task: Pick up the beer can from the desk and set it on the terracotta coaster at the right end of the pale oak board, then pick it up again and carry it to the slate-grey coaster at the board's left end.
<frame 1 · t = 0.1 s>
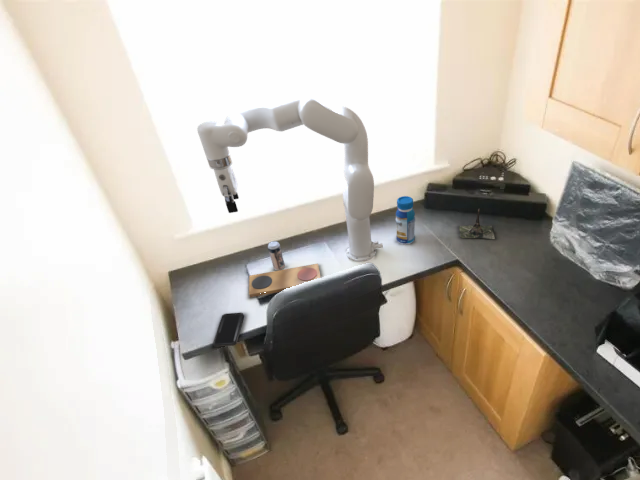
hand: (234, 205, 151), 31 cm above the worktop, tool pointing down, fingers open, 9 cm apart
beverage bottle: (405, 240, 184), on the worktop
eiffel tower figurine: (476, 233, 186), on the worktop
board: (285, 281, 166), on the worktop
phone: (229, 330, 147), on the worktop
beer can: (279, 267, 173), on the worktop
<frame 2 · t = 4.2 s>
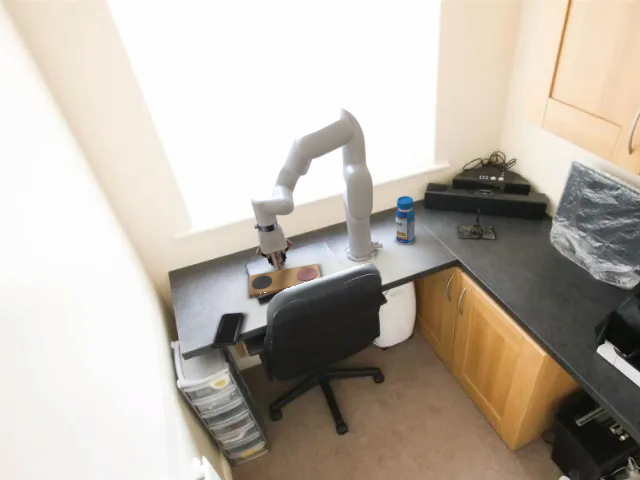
hand: (278, 262, 171), 3 cm above the worktop, tool pointing down, fingers closed on beer can, 4 cm apart
beer can: (279, 267, 173), on the worktop, touching gripper
everything else where it was.
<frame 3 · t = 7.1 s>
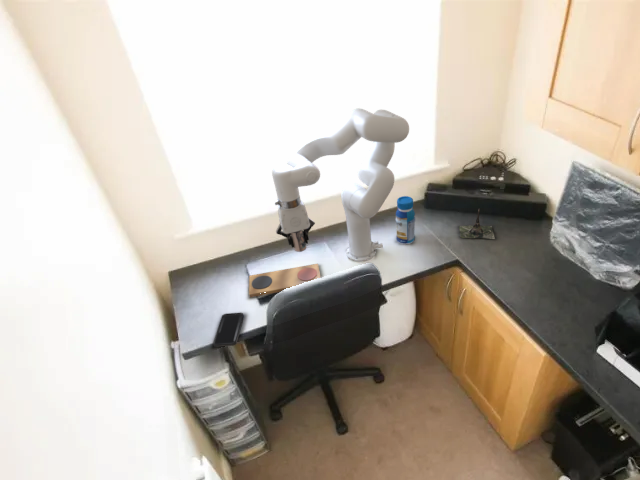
hand: (299, 243, 157), 16 cm above the worktop, tool pointing down, fingers closed on beer can, 4 cm apart
beer can: (300, 249, 159), point 13 cm above the worktop, touching gripper
everything else where it was.
when the fingers open (5 cm above the worktop, at t = 10.2 s): beer can stays where it is, resting on board.
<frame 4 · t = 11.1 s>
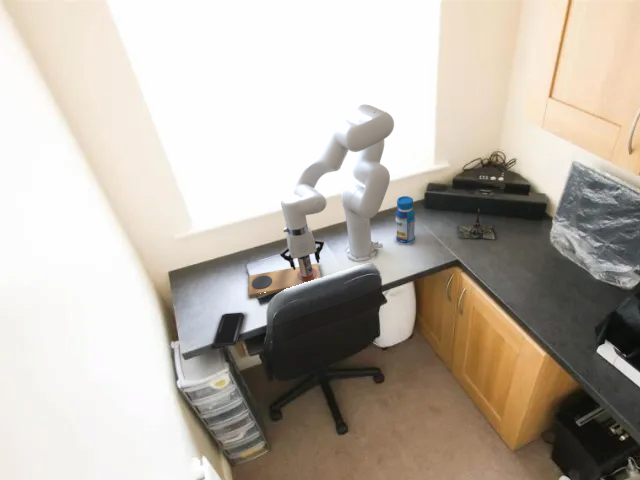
hand: (305, 264, 163), 6 cm above the worktop, tool pointing down, fingers open, 9 cm apart
beer can: (307, 274, 166), point 2 cm above the worktop, touching board
everything else where it was.
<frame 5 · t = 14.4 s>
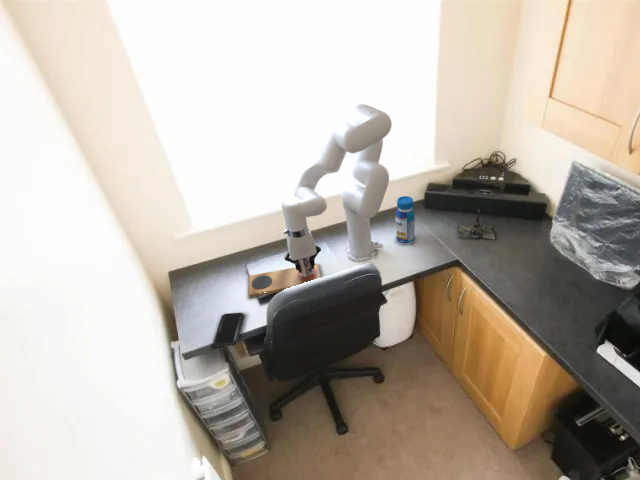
hand: (305, 268, 164), 5 cm above the worktop, tool pointing down, fingers closed on beer can, 4 cm apart
beer can: (307, 274, 166), point 2 cm above the worktop, touching board, gripper
everything else where it was.
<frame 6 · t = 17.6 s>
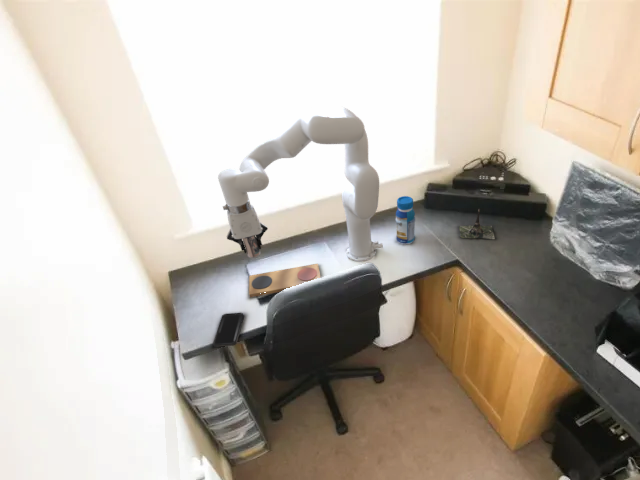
hand: (252, 248, 153), 18 cm above the worktop, tool pointing down, fingers closed on beer can, 4 cm apart
beer can: (254, 255, 155), point 15 cm above the worktop, touching gripper
everything else where it was.
when the fingers open (5 cm above the worktop, at t = 20.9 s): beer can stays where it is, resting on board.
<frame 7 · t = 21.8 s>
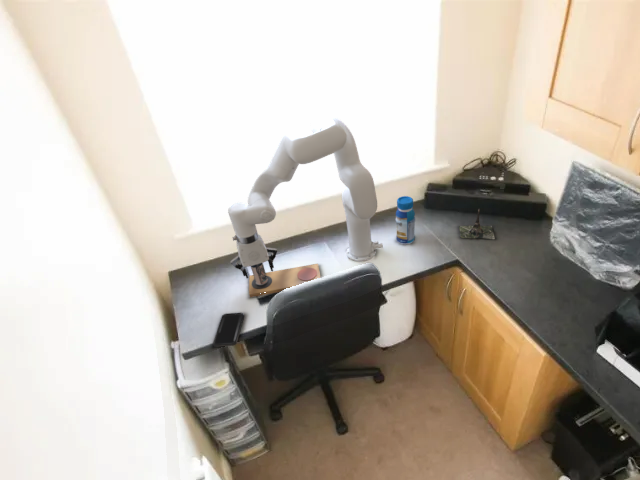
hand: (259, 272, 160), 6 cm above the worktop, tool pointing down, fingers open, 9 cm apart
beer can: (262, 282, 164), point 2 cm above the worktop, touching board
everything else where it was.
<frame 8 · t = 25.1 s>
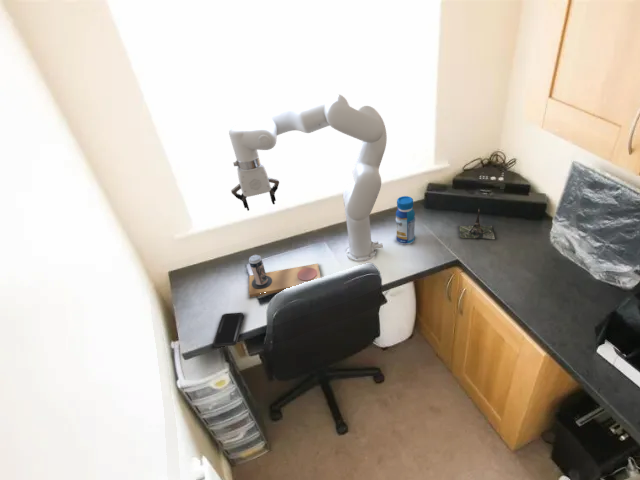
hand: (260, 205, 156), 28 cm above the worktop, tool pointing down, fingers open, 9 cm apart
nothing on the worktop moved.
at the end: beer can 0.1 cm from the target spot on the board, point 1.6 cm above the board's base; beer can tilted 0°; the gripper is holding nothing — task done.
